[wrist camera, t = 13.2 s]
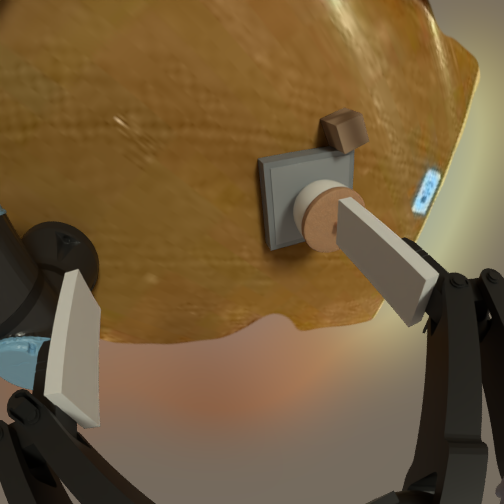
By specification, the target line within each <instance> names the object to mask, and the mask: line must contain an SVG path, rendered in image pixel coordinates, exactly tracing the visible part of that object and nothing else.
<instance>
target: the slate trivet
mask: <svg viewBox="0 0 504 504" xmlns="http://www.w3.org/2000/svg"><path fill="white" fill-rule="evenodd" d="M258 166H259V175H260V186H261V196H262V206H263V216H264V227H265V238H266V244H267V245H268V247H269V249H270V250H271V251H272V250H275V249H279V248H283V247H286V246H290V245H293V244H297V243H300V242H304V241H305V240H304V238H303V236H302V235H301V234H300V232H299V230H298V229H297V226H296V224H295V221H294V216H293V208H294V203H295V200H296V198H297V196H298V194H299V193H300V191H301V190H302V189H303V188H304V187H305V186H307V185H308V184H310V183H312V182H314V181H317V180H323V179H328V180H334V181H337V182H340V183H342V184H344V185H345V186H347V187H348V188H350V189H353V170H354V150H352V151H350V152H348V153H346V154H344V153H342V152H340V151H338V150H337V149H335V148H333V147H331V146H327V147H321V148H314V149H308V150H302V151H296V152H290V153H285V154H279V155H274V156H269V157H263V158H258Z"/></svg>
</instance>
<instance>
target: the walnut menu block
mask: <svg viewBox="0 0 504 504" xmlns="http://www.w3.org/2000/svg"><path fill="white" fill-rule="evenodd" d="M320 121H321V124H322V126H323V129H324V132H325V135H326V138H327V141H328V144H329V145H330V146H331V147H333V148H335V149H337V150H338V151H340V152H342V153H344V154H346V153H348V152H350V151H352V150H354V149H356V148H358V147H360V146H362V145H364V144H365V143H367V142H369V138H368V134H367V130H366V127H365V123H364V119H363V115H362V114H361V113H358V112H356V111H353V110H350V109H347V108H343V109H340V110H338V111H336V112H334V113H332V114H330V115H327V116H325V117H323V118H321V119H320Z"/></svg>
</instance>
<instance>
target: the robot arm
mask: <svg viewBox="0 0 504 504" xmlns="http://www.w3.org/2000/svg"><path fill="white" fill-rule="evenodd" d="M6 213H7V212H6V210H5V209H3V208H2V207H1V205H0V377H2V378H3V379H4V380H6V381H8V382H10V383H12V384H14V385H16V386H19V387H22V388H25V389H31V390H33V393H32V394H31V393H30V392H28V391H27V390H24V389H21V390H17V391H16V392H15V393H13V394H12V396H11V397H10V399H9V401H8V404H7V412H8V415H9V417H11V418H12V419H13V420H15V422H13V423H11V424H9V425H8V424H6V423H5V422H4V421H2V420H0V482H1V485H2V488H3V490H4V493H5V496H6V498H7V501H8V503H9V504H73V503H72V501H71V500H70V498H69V496H68V494H67V493H66V491H65V489H64V487H63V485H62V483H61V481H62V482H63V483H64V484H65V486H66V487H67V488H68V489H69V490H70V492H71V493H72V494H73V495H74V496H75V497H76V499H77V500H78V501H79V502H80V503H81V504H155V503H154V502H153V501H152V500H150V499H149V498H148V497H146V496H145V495H144V494H143V493H142V492H140V491H139V490H138V489H137V488H136V487H134V486H133V485H132V484H131V483H130V482H129V481H128V480H126V479H125V478H124V477H123V476H122V475H121V474H120V473H119V472H118V471H117V470H115V469H114V468H113V467H112V466H111V465H110V464H109V463H108V462H107V461H106V460H105V459H104V458H103V457H102V456H101V455H100V454H99V453H98V452H97V451H96V450H95V449H94V448H93V447H92V446H91V445H90V444H89V443H88V441H87V440H86V439H85V438H84V437H83V436H82V435H81V434H80V433H79V432H77V423H78V424H79V425H80V426H82V427H83V428H84V429H85V428H93V427H100V413H99V382H98V381H99V333H100V315H101V309H100V307H99V306H98V304H97V302H96V300H95V299H94V297H93V295H92V293H91V291H92V289H93V288H94V286H95V283H96V281H97V276H98V269H99V260H98V255H97V252H96V250H95V248H94V246H93V244H92V243H91V241H90V240H89V239H88V238H87V237H86V236H85V235H84V234H83V233H82V232H81V231H79V230H78V229H76V228H75V227H73V226H71V225H68V224H65V223H61V222H44V223H40V224H38V225H35V226H34V227H32V228H31V229H29V230H28V231H27V232H26V234H25V235H24V236H23V238H22V240H21V239H20V237H19V235H18V234H17V232H16V230H15V229H14V227H13V225H12V223H11V222H10V220H9V218H8V216H7V215H6ZM336 244H337V245H338V246H339V247H340V249H341V250H342V251H343V252H344V253H345V254H346V255H347V256H348V257H349V258H350V260H351V261H352V262H353V263H354V264H355V265H356V266H357V267H358V269H359V270H360V271H361V272H362V273H363V274H364V275H365V276H366V278H367V279H368V280H369V281H370V282H371V283H372V285H373V286H374V287H375V288H376V289H377V290H378V291H379V293H380V294H381V295H382V296H383V297H384V298H385V300H386V301H387V302H388V303H389V304H390V305H391V307H392V308H393V309H394V310H395V312H396V313H397V314H398V315H399V316H400V318H401V319H402V320H403V321H404V322H405V323H406V325H407V326H408V327H410V326H412V325H414V324H416V323H418V322H420V321H421V320H422V317H423V315H424V313H425V312H426V313H427V314H428V315H429V318H428V320H427V323H426V325H425V327H424V329H423V333H425V332H426V330H427V356H426V372H425V373H426V374H425V385H424V395H423V404H422V412H421V420H420V427H419V433H418V439H417V445H416V450H415V456H414V460H413V463H412V465H411V467H410V469H409V471H408V473H407V475H406V478H405V482H404V486H403V489H402V491H400V492H394V491H392V492H390V493H388V494H386V495H383V496H381V497H379V498H377V499H374V500H372V501H370V502H368V503H366V504H481V502H482V497H483V491H484V485H485V478H486V470H487V461H488V447H487V445H486V444H485V443H484V442H482V440H481V422H482V385H483V389H484V393H485V397H486V402H487V407H488V411H489V416H490V422H491V427H492V434H493V440H494V447H495V454H496V459H497V465H498V469H499V472H500V476H501V478H502V481H501V483H500V484H499V485H498V486H497V488H496V495H497V497H499V498H501V501H500V504H504V278H503V277H502V276H501V275H500V273H498V272H497V271H496V270H493V269H489V268H487V269H484V270H483V271H482V272H481V274H480V277H479V278H475V279H467V278H466V277H465V276H463V275H462V274H459V273H448V272H447V271H446V270H445V269H444V268H443V267H442V266H440V264H438V263H437V262H436V261H435V260H434V259H433V258H432V257H431V256H430V255H428V253H426V252H425V251H424V250H422V248H421V247H420V246H418V245H417V244H416V243H415V242H413V241H411V240H409V239H407V238H402V239H401V238H400V237H398V236H397V235H396V234H395V233H394V232H393V231H392V230H390V229H389V228H388V227H387V226H386V225H385V224H383V223H382V222H381V221H380V220H379V219H377V218H376V217H375V216H374V215H373V214H371V213H370V212H369V211H368V210H367V209H365V208H364V207H363V206H362V205H360V204H359V203H358V202H357V201H355V200H354V199H353V198H352V197H348V198H344V199H339V200H338V219H337V235H336ZM489 313H490V314H491V316H492V318H491V319H490V317H489ZM59 478H60V479H59ZM60 480H61V481H60Z"/></svg>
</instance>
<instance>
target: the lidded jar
mask: <svg viewBox="0 0 504 504" xmlns="http://www.w3.org/2000/svg"><path fill="white" fill-rule="evenodd" d="M348 197H352V198H353V199H354V200H355V201H357V202H358V203H359V204H360V205H362V206H363V207H364V208H365V204H364V201H363V199H362V198H361V196H360V195H359V194H358V193H357V192H355V191H354V190H352V189H350V188H348V187H347V186H345V185H344V184H342V183H340V182H337V181H334V180H328V179H323V180H317V181H314V182H312V183H310V184H308V185H307V186H305V187H304V188H303V189H302V190H301V191H300V193H299V194H298V196H297V198H296V200H295V203H294V208H293V216H294V221H295V224H296V226H297V229H298V230H299V232H300V234H301V235H302V236H303V238H304V240H305V241H306V243H307V244H308V245H309V246H310V247H311V248H312V249H314V250H316V251H318V252H333V251H336V250H339V249H340V247H339V246H338V245H337V244H336V235H337V219H338V200H339V199H344V198H348Z"/></svg>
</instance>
